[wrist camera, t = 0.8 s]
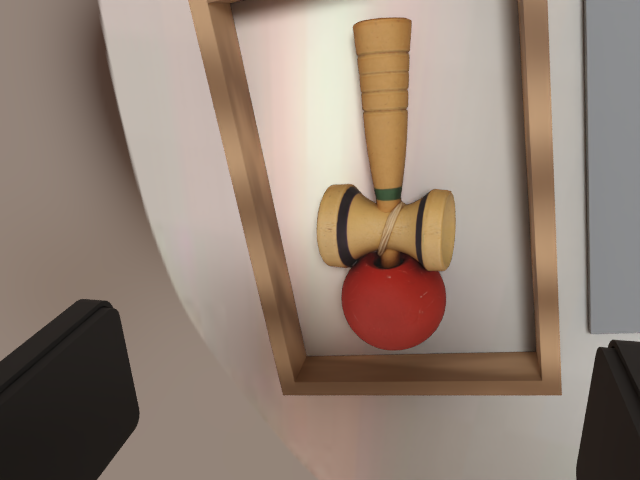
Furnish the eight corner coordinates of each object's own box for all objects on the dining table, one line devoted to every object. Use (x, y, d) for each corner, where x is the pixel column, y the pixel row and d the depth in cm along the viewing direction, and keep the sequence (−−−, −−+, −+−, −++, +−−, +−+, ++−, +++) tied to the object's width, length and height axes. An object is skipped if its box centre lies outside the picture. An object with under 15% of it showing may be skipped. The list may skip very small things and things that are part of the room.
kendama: (308, 36, 32) (330, 328, 36) (296, 19, 26) (324, 373, 30) (444, 24, 31) (451, 323, 36) (465, 4, 25) (470, 368, 29)
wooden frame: (554, 365, 35) (561, 395, 32) (295, 368, 39) (283, 395, 37) (535, -88, 26) (543, -99, 23) (209, -13, 31) (184, -15, 28)
